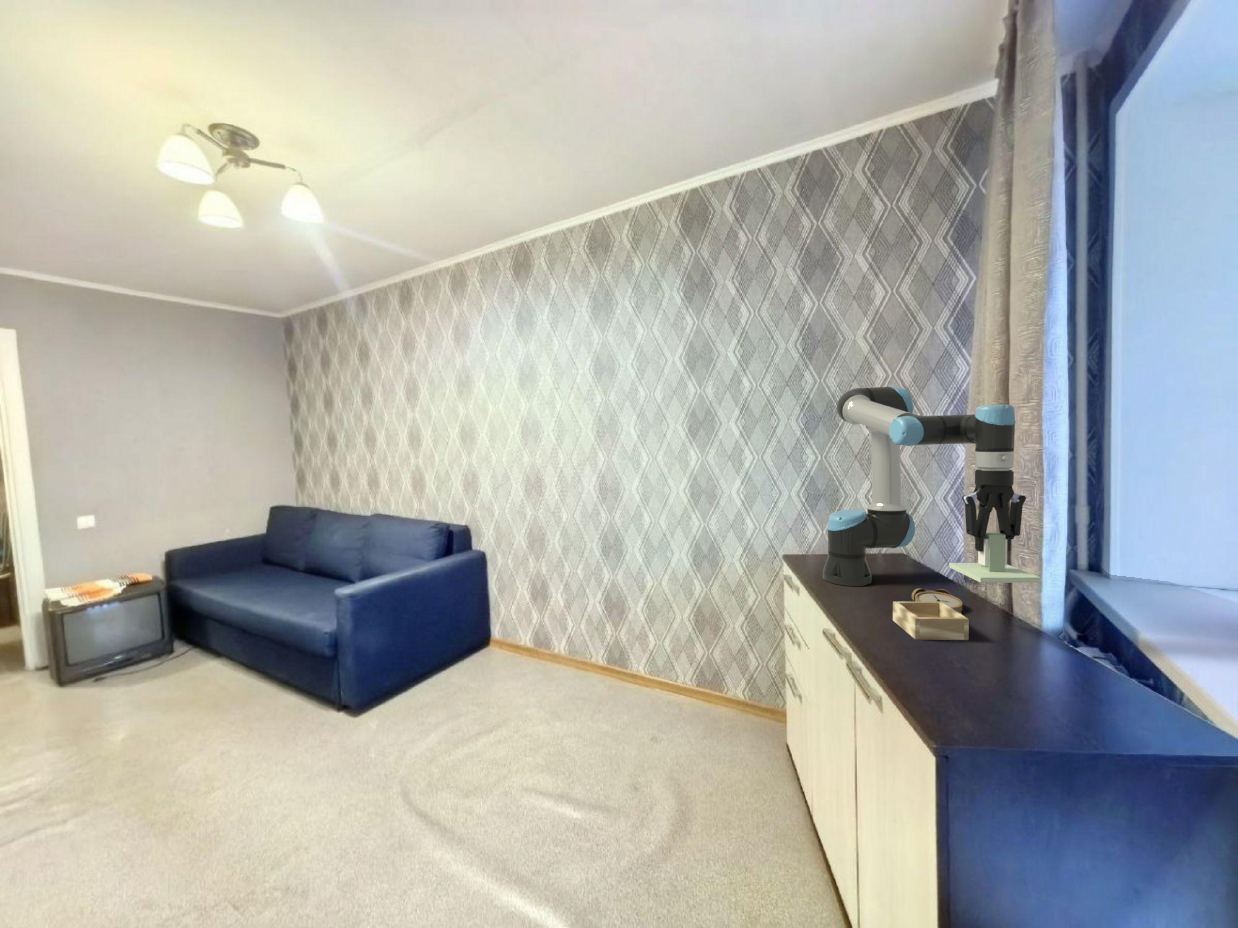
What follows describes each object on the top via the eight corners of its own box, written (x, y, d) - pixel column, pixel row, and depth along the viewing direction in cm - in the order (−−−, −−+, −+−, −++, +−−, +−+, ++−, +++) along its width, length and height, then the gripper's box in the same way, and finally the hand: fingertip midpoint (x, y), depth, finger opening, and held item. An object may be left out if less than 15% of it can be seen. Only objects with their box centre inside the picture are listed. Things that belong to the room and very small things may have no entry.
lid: (949, 567, 129) (949, 528, 129) (1003, 567, 128) (1003, 527, 127) (980, 582, 116) (981, 539, 116) (1040, 582, 115) (1041, 538, 114)
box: (892, 623, 131) (892, 601, 131) (940, 624, 130) (941, 601, 130) (915, 643, 119) (915, 618, 119) (968, 643, 118) (968, 619, 118)
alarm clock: (923, 607, 135) (905, 581, 149) (922, 623, 136) (904, 596, 150) (970, 609, 132) (947, 582, 147) (968, 626, 134) (946, 597, 148)
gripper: (966, 471, 118) (965, 568, 119) (1042, 469, 116) (1040, 568, 118) (948, 468, 125) (947, 560, 127) (1020, 467, 123) (1017, 560, 125)
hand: (992, 564), depth 122 cm, fingers closed on lid, 3 cm apart
